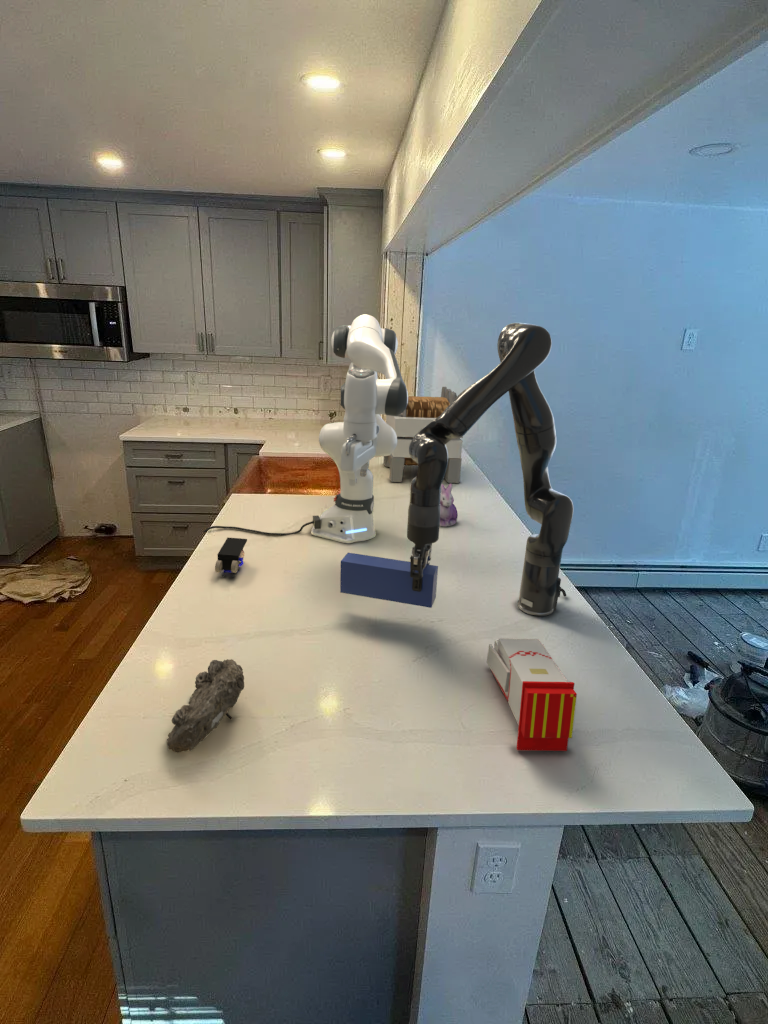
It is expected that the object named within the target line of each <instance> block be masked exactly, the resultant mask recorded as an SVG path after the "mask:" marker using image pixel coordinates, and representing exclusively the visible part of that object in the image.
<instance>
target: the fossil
mask: <svg viewBox="0 0 768 1024" xmlns="http://www.w3.org/2000/svg"><path fill="white" fill-rule="evenodd" d="M243 670H244V669H243V667H242V665H240V664H237V662H236V661H235V660H234V659H232V658H231V659H227V658H226V659H224V660H223V661H222V660H217V659H212V660H211V661H210V663H209V665H208V666H207V671H201V672H199V673H198V674H197V675H196V676H195V680H194V684H195V685H194V687H195V689H194V690H193V693H192V694H191V697H190V698H189V700H188V704H184V705H182V706H181V707H180V709H177V710H176V711H175V713H174V715H173V716H172V718H171V723H172V724H173V727H172V730H171V731H170V732H168V734H167V738H166V741H167V742H166V745H167V749H168V750H169V751H173V752H174V753H176V754H178V753H182V752H188V751H189V752H192V751H193V750H195V748H196V747H197V746H199V744H200V743H201V742H203V741H204V740H205V739H206V738H207V737H208V736H209V735H210V734H211V733H212V732H214V730H215V729H217V727H218V726H219V724H220V722H221V721H222V720H223V719H224V718H225V716H226V717H227V719H229V720H233V717H232V715H230V714H229V710H230V709H231V708H234V706H235V704H236V703H237V702H238V699H239V697H240V695H241V693H242V691H243V690H245V689H244V688H245V675H244V671H243Z"/></svg>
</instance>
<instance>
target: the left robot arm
mask: <svg viewBox="0 0 768 1024" xmlns="http://www.w3.org/2000/svg"><path fill="white" fill-rule="evenodd" d="M330 344H331V348H332V351H333V354H334V355H335V356H336V357H338V358H342V359H345V358H347V359H349V360H350V363H349V366H348V369H347V373H346V376H345V382H344V383H343V384H342V385H340V406H341V407H342V408H343V410H344V416H343V421H336V422H330V423H325V424H324V425H323V426H322V427H321V429H320V431H319V434H318V442H319V443H318V444H319V446H320V448H321V450H322V451H323V453H325V454H327V456H329V458H330V459H332V461H333V462H334V464H335V465H336V467H337V470H338V474H339V483H340V484H339V485H340V488H339V489H340V490H339V491H338V492H337V494H336V495H335V496H334V497H333V502H334V504H333V505H331V506H329V507H328V508H326V509H325V510H323V512H321V514H320V515H312V521H309V522H306V523H303V524H302V525H301V526H300V528H299V529H298V530H296V531H294V532H293V531H292V532H288V533H286V532H285V533H283V532H267V531H260V530H255V529H250V528H245V527H239V526H228V525H227V526H226V525H225V526H223V525H212V526H209V527H206V528H205V529H204V530H203V533H207V532H208V531H210V530H212V529H227V530H228V529H229V530H239V531H244V532H250V533H256V534H261V535H267V536H290V535H296V534H299V533H301V532H302V531H303V529H304V528H305V527H307V526H309V525H312V528H311V530H310V533H311V536H315V537H319V538H323V539H326V540H330V541H336V542H339V543H343V544H352V543H357V542H365V541H368V540H372V539H373V538H375V537H376V535H377V532H376V528H375V523H374V513H373V512H374V509H375V496H374V474H373V472H372V471H371V469H369V466H370V461H371V460H373V459H374V458H382V457H384V456H388V455H391V454H392V453H393V452H394V450H395V448H396V446H397V435H396V433H395V431H394V429H393V428H392V427H391V426H389V425H388V424H387V423H386V420H384V419H383V417H382V416H381V415H385V416H386V415H390V416H398V415H399V414H401V413H402V412H403V411H404V410H405V409H406V407H407V404H408V396H409V392H408V389H407V385H406V383H405V381H404V379H403V376H402V373H401V370H400V366H399V363H398V359H397V357H396V353H397V352H398V347H399V342H398V337H397V334H396V332H395V331H394V330H393V329H391V328H387V327H385V328H382V326H381V325H380V322H379V320H378V319H377V318H376V317H375V316H372V315H371V314H359V315H358V316H357V317H355V318H354V319H353V321H352V322H351V325H347V324H342V325H338V326H337V327H335V328H334V330H333V333H332V335H331V339H330ZM378 373H379V374H382V375H383V376H384V377H385V379H383V378H379V377H378Z"/></svg>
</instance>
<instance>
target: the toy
mask: <svg viewBox="0 0 768 1024" xmlns="http://www.w3.org/2000/svg"><path fill="white" fill-rule="evenodd" d="M486 664H487V666H488V667H489V668H490V671H491V672H492V675H493V676H494V679H495V680H496V683H497V684H498V686H499V688H500V690H501V692H502V694H503V695H504V697H505V699H506V701H507V704H508V706H509V708H510V711H511V712H512V715H513V717H514V719H515V722H516V724H517V726H518V728H517V729H518V730H517V741H516V751H535V752H536V751H541V752H544V751H545V752H546V751H547V752H548V751H549V752H550V751H551V752H552V751H553V752H567V751H568V743H569V739H573V731H574V722H575V714H576V706H577V705H576V704H577V697H578V696H577V695H578V694H577V692H576V690H575V682H574V681H569V680H568V679H567V677H566V676H565V675H564V673H563V672H562V670H561V669H560V668H559V666H558V665H557V663H556V662H555V660H554V659H553V657H552V656H551V655H550V653H549V651H547V649H546V646H545V644H543V643H542V641H541V640H540V639H539V638H513V637H512V638H511V637H509V638H508V637H507V638H506V637H498V639H494V645H493V644H488V650H487V657H486Z"/></svg>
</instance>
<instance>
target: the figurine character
mask: <svg viewBox="0 0 768 1024" xmlns="http://www.w3.org/2000/svg"><path fill="white" fill-rule="evenodd" d="M247 542H248V538H240V537H226V539H225V541H224V543H223V544H222V546H221V547H220V549H219V551H218V552H217V560H216V562H215V564H214V572H215V573H221V577H222V578H224V577H225V576H226V574H227V573H230V574H231V573H232V574H231V578H234V577H235V575H236V573H237V572H239V571H240V567H242V566H243V565H244V564H245V562H244V558H245V551H244V547H245V546H246V544H247Z"/></svg>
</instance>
